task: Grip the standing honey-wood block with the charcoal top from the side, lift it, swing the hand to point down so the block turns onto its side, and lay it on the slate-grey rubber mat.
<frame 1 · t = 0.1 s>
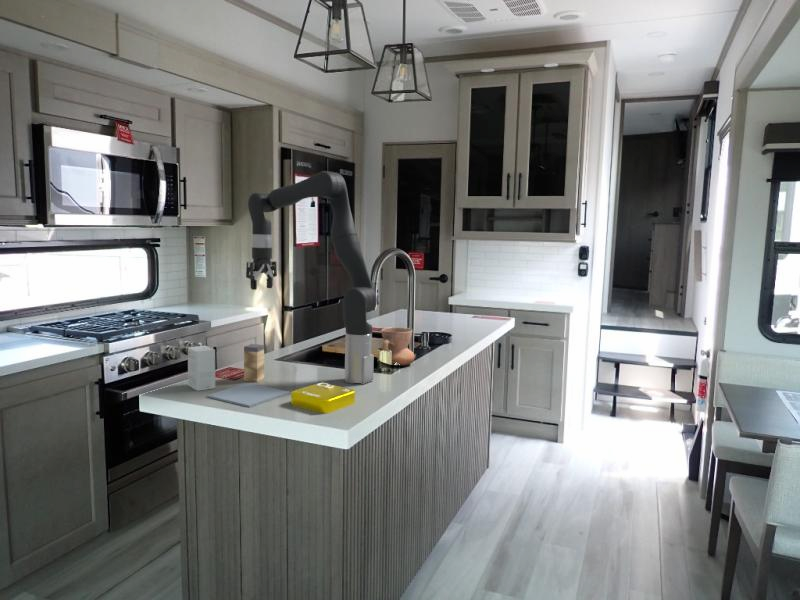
hand: (261, 288, 227), 29 cm above the worktop, tool pointing down, fingers open, 8 cm apart
grey mat: (248, 395, 187), on the worktop
ceramic jug: (395, 364, 236), on the worktop
element tile: (323, 405, 182), on the worktop
wood block: (254, 379, 206), on the worktop
small box: (201, 387, 195), on the worktop
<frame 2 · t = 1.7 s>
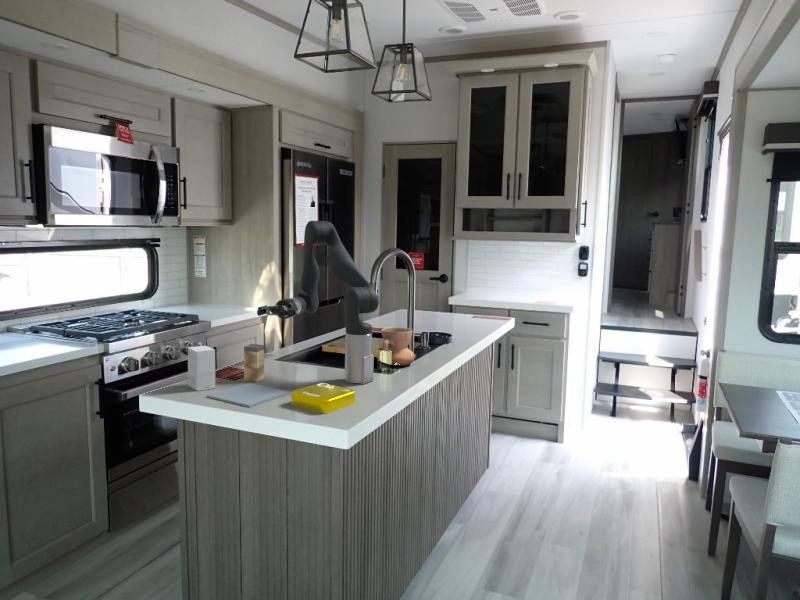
hand: (269, 313, 214), 22 cm above the worktop, tool horizontal, fingers open, 8 cm apart
nothing on the worktop moved.
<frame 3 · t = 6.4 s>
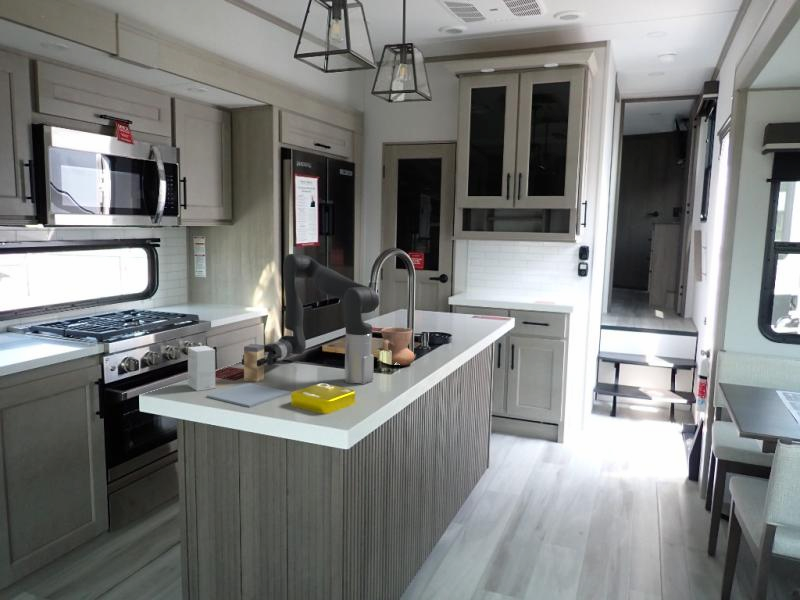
hand: (250, 362, 203), 7 cm above the worktop, tool horizontal, fingers closed on wood block, 5 cm apart
wood block: (254, 379, 206), on the worktop, touching gripper
everything else where it was.
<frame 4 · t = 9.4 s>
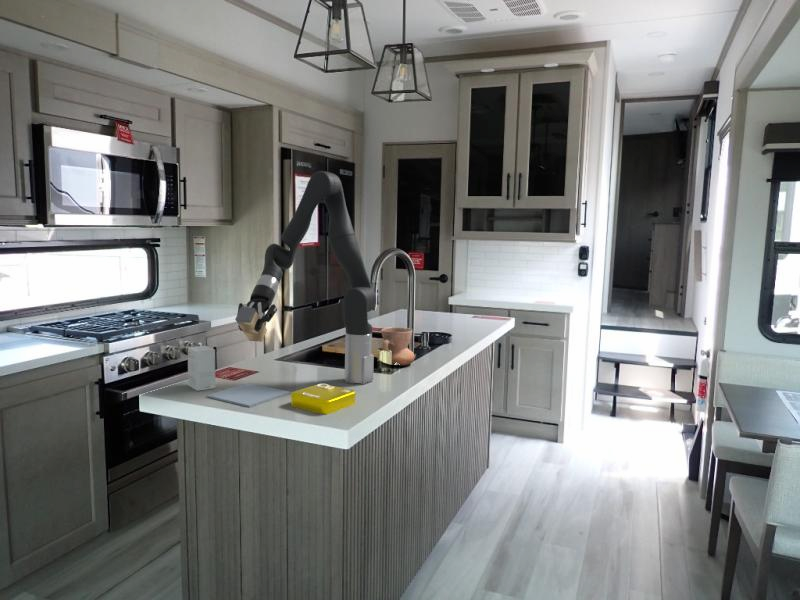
hand: (248, 329, 195), 19 cm above the worktop, tool tilted 45°, fingers closed on wood block, 5 cm apart
wood block: (258, 335, 202), point 16 cm above the worktop, tilted 44°, touching gripper
everything else where it was.
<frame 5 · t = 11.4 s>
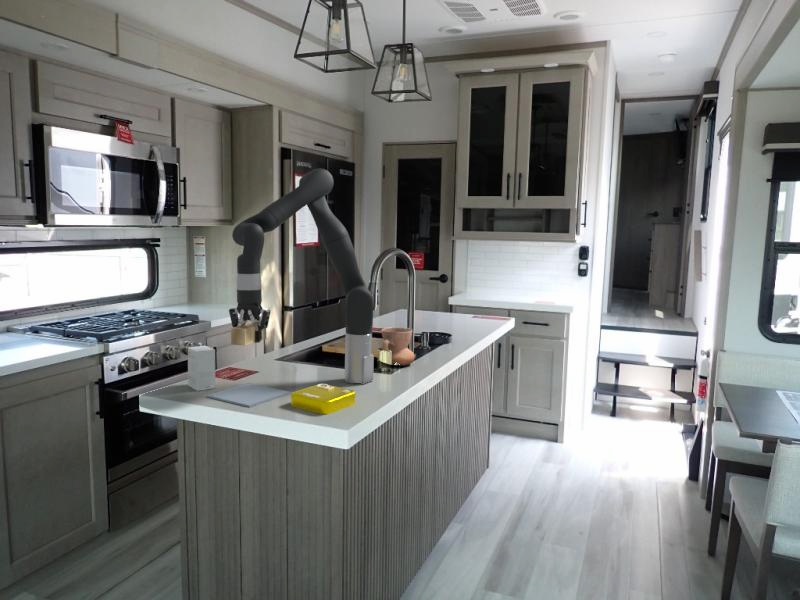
hand: (250, 341, 186), 17 cm above the worktop, tool pointing down, fingers closed on wood block, 5 cm apart
wood block: (237, 336, 179), point 20 cm above the worktop, tilted 90°, touching gripper
when the fingers open (2 cm above the worktop, at t = 14.5 s): wood block drops 1 cm, resting on grey mat.
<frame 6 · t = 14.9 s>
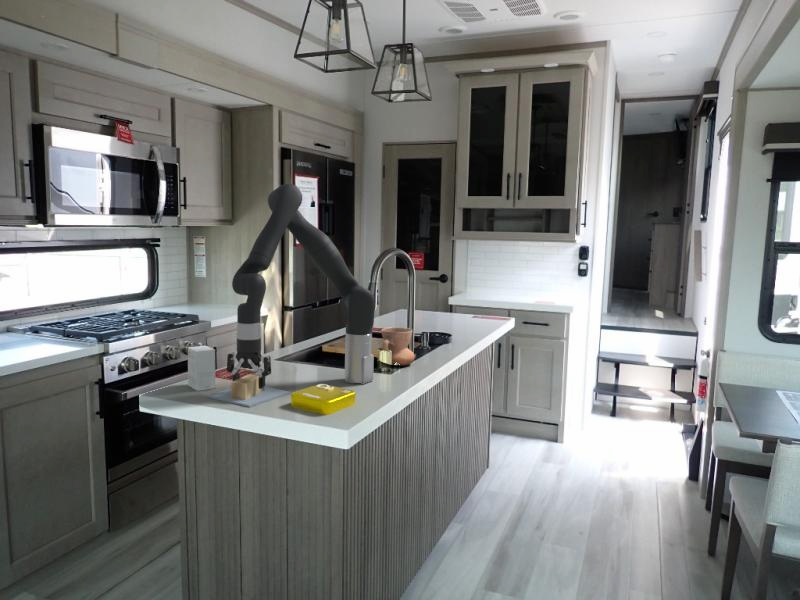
hand: (248, 386, 187), 3 cm above the worktop, tool pointing down, fingers open, 8 cm apart
wood block: (238, 391, 181), point 3 cm above the worktop, tilted 90°, touching grey mat
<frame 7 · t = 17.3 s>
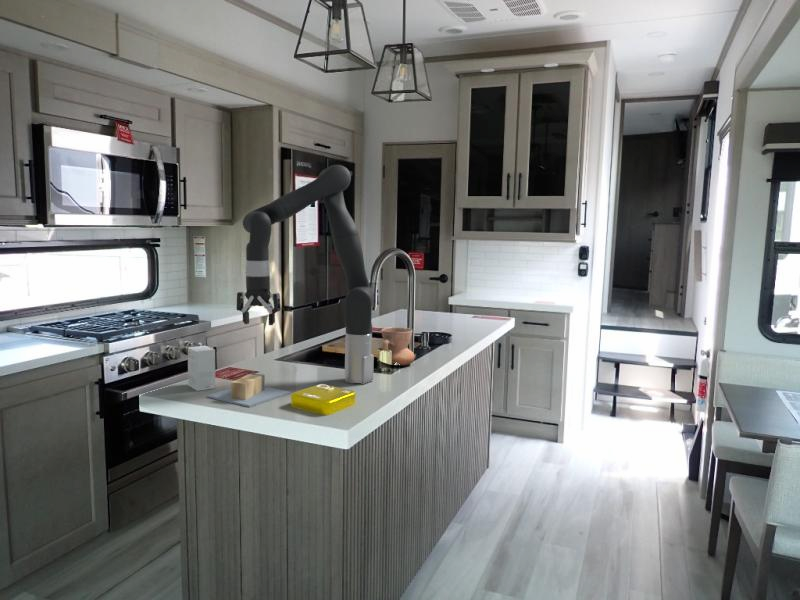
hand: (258, 324, 192), 22 cm above the worktop, tool pointing down, fingers open, 8 cm apart
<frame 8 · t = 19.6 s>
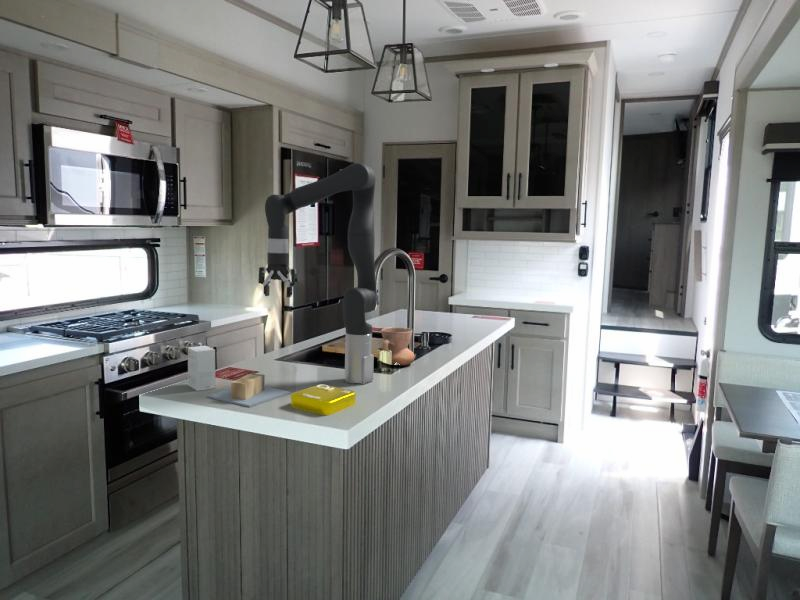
hand: (277, 296, 213), 28 cm above the worktop, tool pointing down, fingers open, 8 cm apart
at the end: wood block tilted 90°; wood block inside the target area on the grey mat (6.5 cm from its centre), point 3.1 cm above the grey mat's base; the gripper is holding nothing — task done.
